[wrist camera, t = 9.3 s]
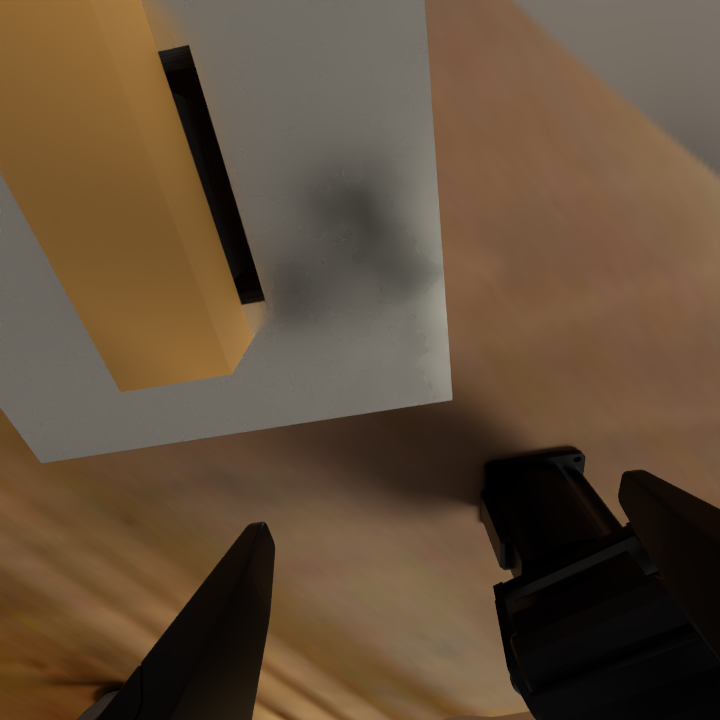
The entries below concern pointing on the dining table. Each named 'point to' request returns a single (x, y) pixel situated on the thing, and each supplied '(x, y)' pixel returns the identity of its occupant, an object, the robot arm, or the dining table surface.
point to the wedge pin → (122, 189)
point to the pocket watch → (97, 707)
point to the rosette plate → (269, 236)
